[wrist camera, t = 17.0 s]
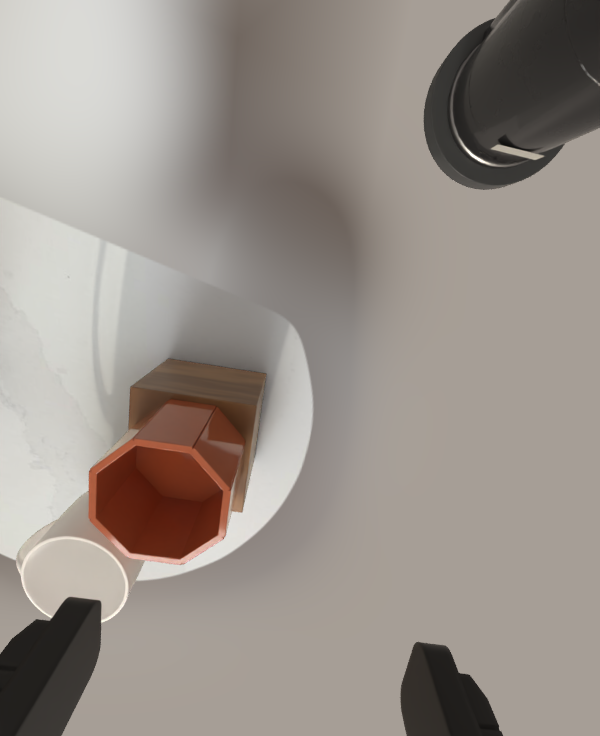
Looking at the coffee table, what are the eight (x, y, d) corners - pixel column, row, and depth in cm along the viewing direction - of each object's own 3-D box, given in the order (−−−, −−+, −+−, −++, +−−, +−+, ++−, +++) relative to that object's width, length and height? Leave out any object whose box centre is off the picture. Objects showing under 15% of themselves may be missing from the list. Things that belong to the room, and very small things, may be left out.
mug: (164, 457, 42) (112, 532, 30) (181, 526, 44) (138, 620, 32) (59, 469, 42) (-32, 548, 31) (81, 536, 44) (4, 634, 33)
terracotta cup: (136, 393, 30) (89, 431, 23) (250, 410, 31) (235, 452, 24) (131, 492, 33) (87, 553, 26) (237, 507, 33) (220, 570, 26)
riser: (168, 358, 39) (130, 386, 30) (266, 373, 39) (257, 405, 30) (161, 447, 41) (125, 496, 33) (253, 460, 42) (242, 513, 33)
